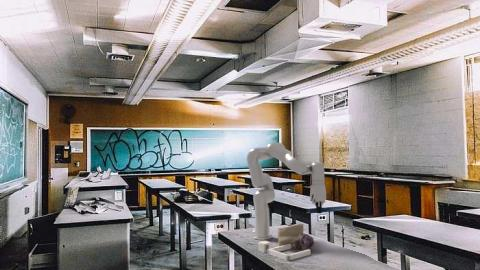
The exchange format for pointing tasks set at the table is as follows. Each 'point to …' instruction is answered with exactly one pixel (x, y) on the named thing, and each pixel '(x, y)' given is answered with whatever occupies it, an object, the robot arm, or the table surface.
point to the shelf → (289, 234)
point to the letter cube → (263, 246)
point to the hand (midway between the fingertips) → (319, 212)
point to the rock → (304, 242)
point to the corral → (277, 253)
